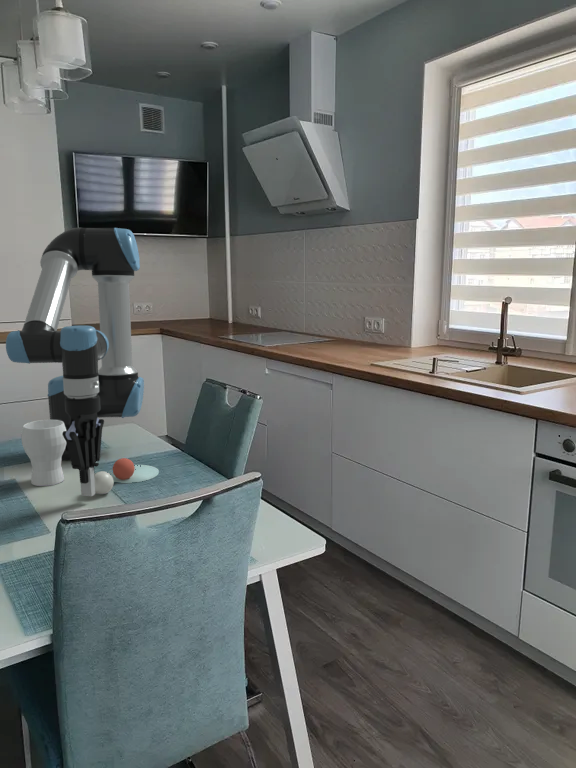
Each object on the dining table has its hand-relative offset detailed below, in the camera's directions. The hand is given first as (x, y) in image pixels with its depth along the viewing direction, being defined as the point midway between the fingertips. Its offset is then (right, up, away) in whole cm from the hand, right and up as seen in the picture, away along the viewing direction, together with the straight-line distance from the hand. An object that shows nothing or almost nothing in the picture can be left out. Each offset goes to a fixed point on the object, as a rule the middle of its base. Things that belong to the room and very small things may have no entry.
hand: (88, 494), depth 135 cm
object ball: (+4, +4, +15) cm, 16 cm away
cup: (-15, +1, +14) cm, 21 cm away
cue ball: (+1, +2, +5) cm, 6 cm away
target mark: (+5, +2, +19) cm, 20 cm away
